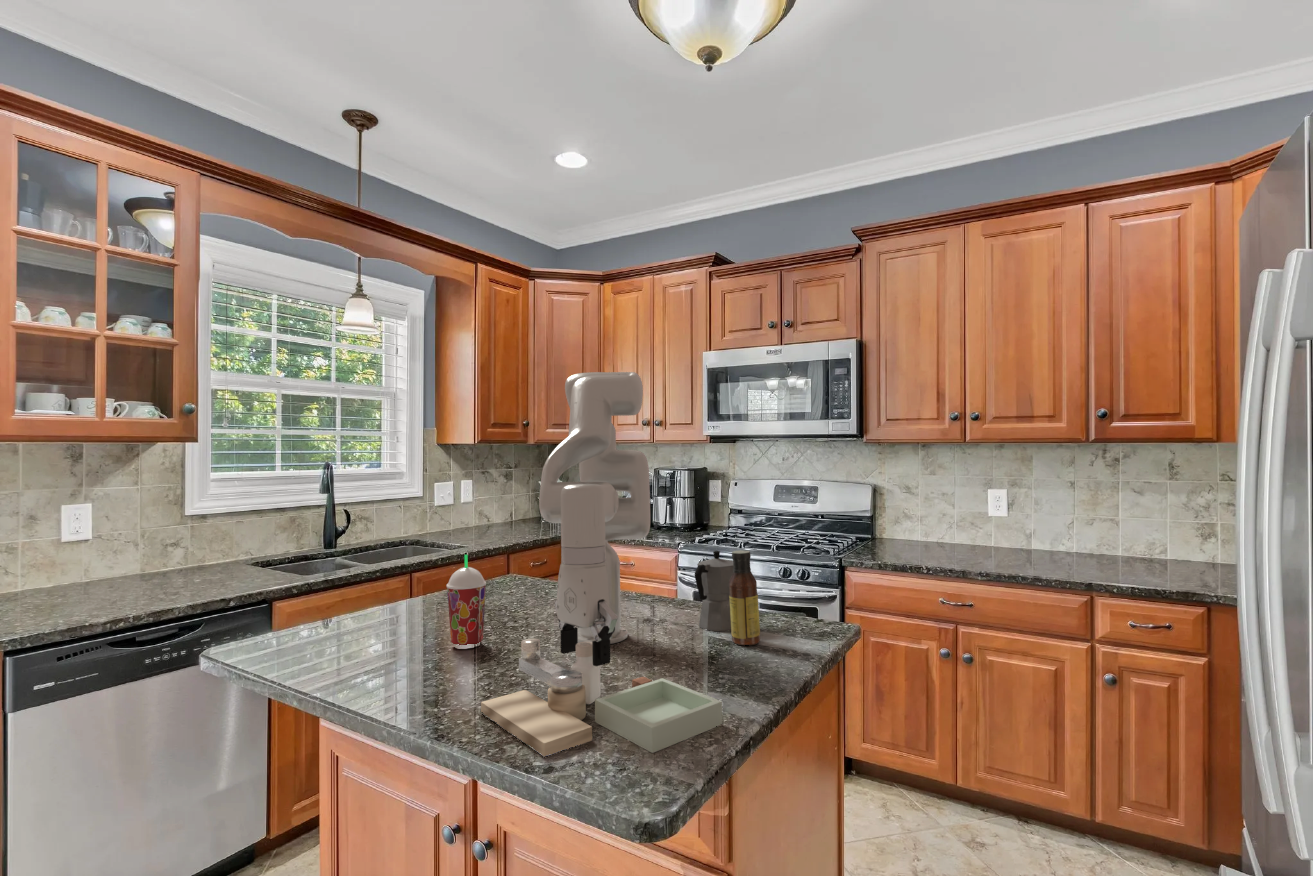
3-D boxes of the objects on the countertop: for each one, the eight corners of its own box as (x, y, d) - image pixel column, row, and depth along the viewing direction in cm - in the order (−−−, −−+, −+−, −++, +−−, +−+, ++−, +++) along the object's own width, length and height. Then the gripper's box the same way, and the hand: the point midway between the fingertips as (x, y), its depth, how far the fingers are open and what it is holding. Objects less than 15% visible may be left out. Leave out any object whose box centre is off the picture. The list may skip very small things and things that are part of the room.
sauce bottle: (759, 638, 145) (757, 549, 145) (761, 647, 138) (759, 553, 139) (729, 638, 145) (728, 549, 146) (730, 646, 139) (728, 553, 139)
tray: (595, 722, 102) (594, 699, 102) (662, 698, 111) (662, 678, 111) (652, 753, 91) (651, 727, 91) (722, 724, 100) (721, 701, 100)
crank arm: (588, 688, 104) (587, 656, 104) (561, 696, 101) (561, 663, 101) (539, 664, 116) (538, 636, 116) (513, 671, 113) (513, 642, 113)
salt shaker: (569, 702, 110) (568, 646, 110) (581, 694, 113) (581, 639, 113) (590, 706, 108) (589, 648, 108) (601, 697, 112) (601, 642, 112)
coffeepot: (716, 617, 163) (715, 545, 164) (749, 623, 157) (747, 548, 158) (680, 631, 151) (678, 554, 151) (714, 638, 145) (712, 557, 146)
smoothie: (494, 642, 145) (493, 552, 146) (472, 653, 137) (470, 558, 138) (462, 639, 148) (461, 551, 148) (439, 650, 140) (437, 557, 140)
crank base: (481, 714, 105) (480, 687, 105) (614, 675, 123) (613, 652, 123) (544, 757, 90) (543, 726, 90) (686, 706, 107) (685, 679, 107)
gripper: (538, 554, 115) (539, 651, 114) (594, 563, 102) (595, 674, 101) (574, 549, 120) (575, 643, 119) (632, 558, 107) (633, 664, 106)
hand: (584, 657), depth 110 cm, fingers open, 9 cm apart
